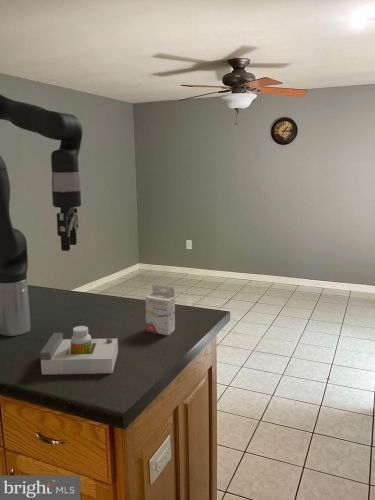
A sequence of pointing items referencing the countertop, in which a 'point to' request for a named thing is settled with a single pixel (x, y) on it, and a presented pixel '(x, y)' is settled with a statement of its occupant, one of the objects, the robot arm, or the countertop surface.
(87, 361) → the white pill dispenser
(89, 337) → the supplement bottle
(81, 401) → the countertop surface
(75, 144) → the robot arm
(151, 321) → the ink cartridge box
